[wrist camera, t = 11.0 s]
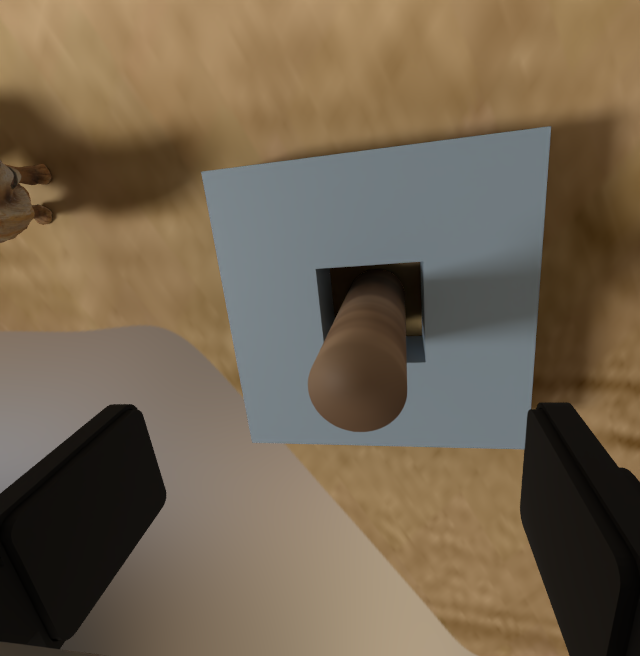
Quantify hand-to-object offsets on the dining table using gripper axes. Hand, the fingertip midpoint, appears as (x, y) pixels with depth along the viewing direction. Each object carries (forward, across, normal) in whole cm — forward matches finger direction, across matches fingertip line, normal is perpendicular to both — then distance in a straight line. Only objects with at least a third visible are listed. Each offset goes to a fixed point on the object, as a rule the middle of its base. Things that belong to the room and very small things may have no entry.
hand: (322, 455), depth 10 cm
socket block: (+16, 0, +1) cm, 16 cm away
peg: (+16, 0, +1) cm, 16 cm away
